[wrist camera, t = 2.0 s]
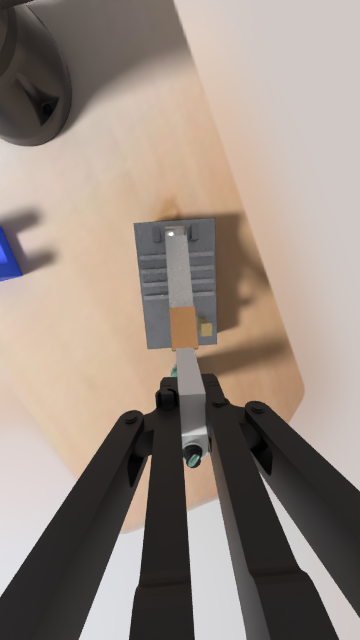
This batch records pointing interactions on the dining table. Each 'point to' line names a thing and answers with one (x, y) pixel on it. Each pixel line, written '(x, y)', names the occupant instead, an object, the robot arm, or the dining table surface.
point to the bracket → (7, 260)
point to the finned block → (156, 279)
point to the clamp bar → (180, 289)
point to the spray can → (192, 442)
